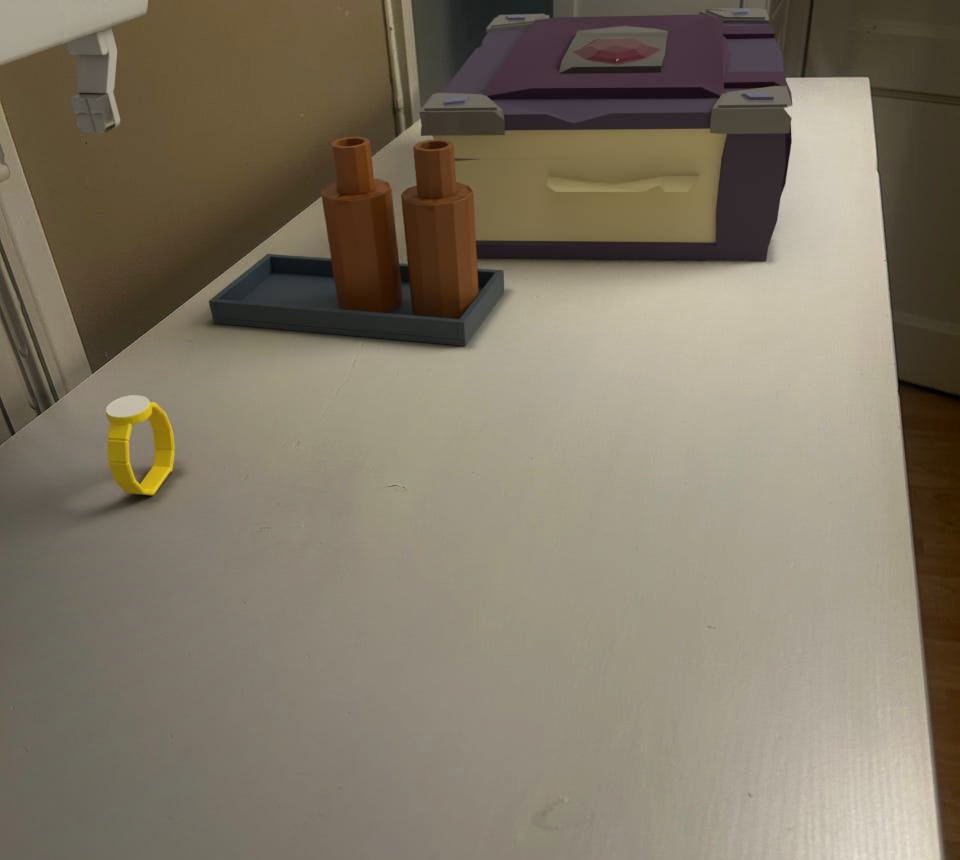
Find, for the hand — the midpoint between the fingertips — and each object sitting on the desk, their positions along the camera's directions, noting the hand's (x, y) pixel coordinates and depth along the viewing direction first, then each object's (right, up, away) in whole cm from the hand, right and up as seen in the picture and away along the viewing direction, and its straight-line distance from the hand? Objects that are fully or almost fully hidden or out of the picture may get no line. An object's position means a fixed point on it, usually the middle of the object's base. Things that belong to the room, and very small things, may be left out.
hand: (48, 155), depth 50 cm
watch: (0, -15, +16) cm, 21 cm away
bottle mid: (+13, +4, +36) cm, 38 cm away
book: (+37, +25, +58) cm, 73 cm away
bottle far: (+19, +3, +34) cm, 39 cm away
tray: (+12, +4, +36) cm, 38 cm away
